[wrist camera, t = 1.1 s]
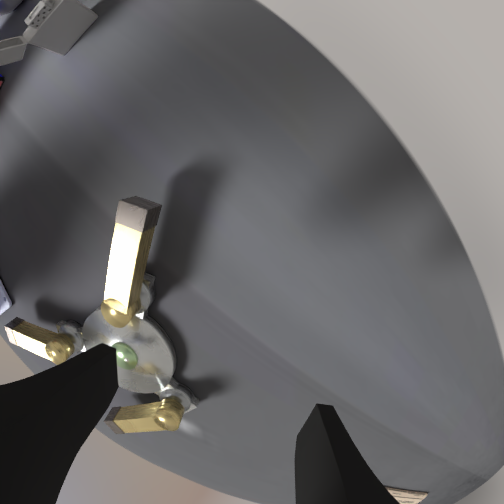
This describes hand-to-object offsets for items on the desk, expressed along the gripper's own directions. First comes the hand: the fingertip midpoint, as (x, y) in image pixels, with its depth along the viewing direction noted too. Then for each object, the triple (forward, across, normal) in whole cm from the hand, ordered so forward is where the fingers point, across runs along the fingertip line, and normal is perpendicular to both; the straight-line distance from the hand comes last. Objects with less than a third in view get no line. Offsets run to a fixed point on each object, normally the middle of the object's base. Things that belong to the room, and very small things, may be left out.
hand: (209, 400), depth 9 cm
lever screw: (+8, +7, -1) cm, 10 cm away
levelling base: (+9, +8, +8) cm, 14 cm away
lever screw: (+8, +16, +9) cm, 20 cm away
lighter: (+10, +18, -15) cm, 25 cm away
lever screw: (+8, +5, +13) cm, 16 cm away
